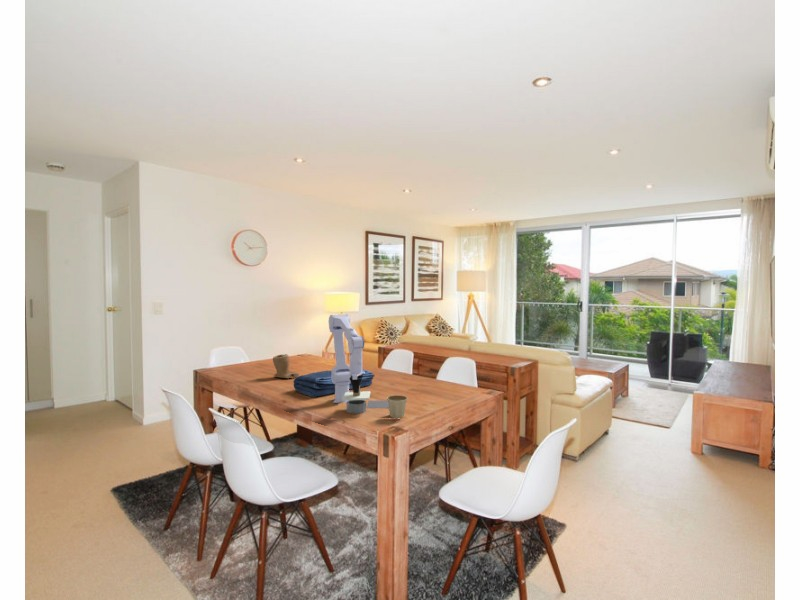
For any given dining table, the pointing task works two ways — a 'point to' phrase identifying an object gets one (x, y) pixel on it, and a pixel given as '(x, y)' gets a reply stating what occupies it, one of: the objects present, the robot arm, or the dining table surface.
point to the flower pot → (397, 405)
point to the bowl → (356, 406)
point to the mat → (378, 404)
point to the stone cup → (283, 367)
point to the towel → (324, 383)
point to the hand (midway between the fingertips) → (356, 391)
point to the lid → (356, 395)
